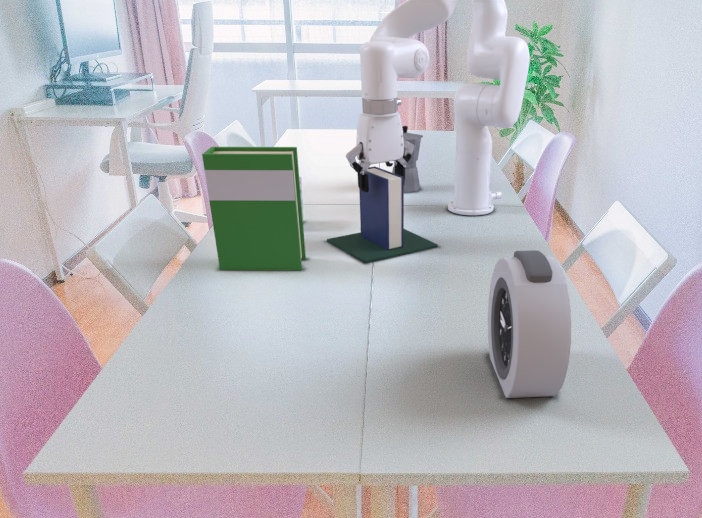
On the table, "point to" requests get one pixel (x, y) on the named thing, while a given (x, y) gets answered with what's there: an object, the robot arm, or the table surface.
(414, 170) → the coffeepot
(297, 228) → the hardback book
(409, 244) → the desk pad
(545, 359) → the alarm clock
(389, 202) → the navy book
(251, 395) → the table surface
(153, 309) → the table surface
